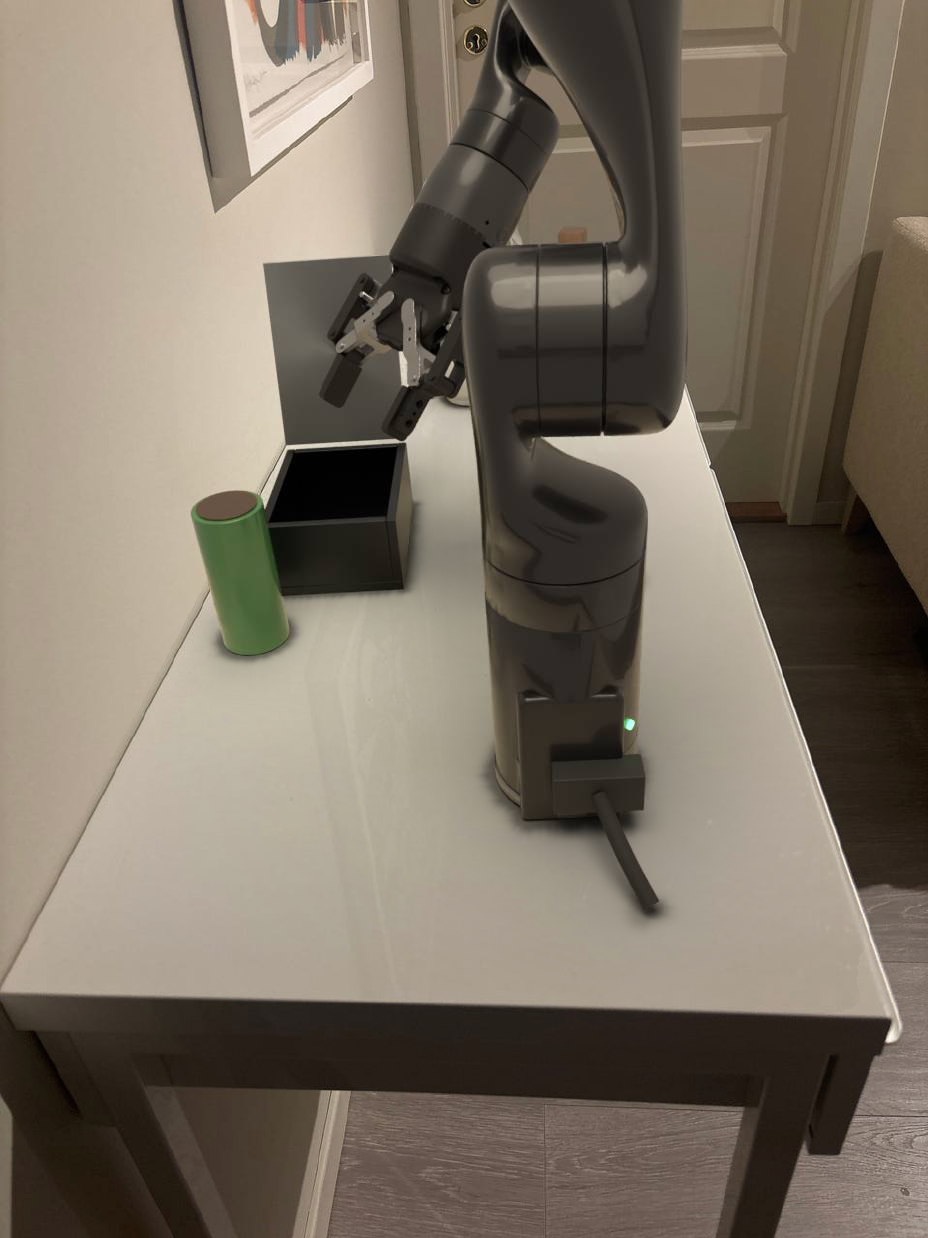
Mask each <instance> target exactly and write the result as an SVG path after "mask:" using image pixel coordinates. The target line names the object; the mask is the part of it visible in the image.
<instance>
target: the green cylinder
mask: <svg viewBox="0 0 928 1238" xmlns="http://www.w3.org/2000/svg"><path fill="white" fill-rule="evenodd" d="M190 517H191V521H192V525H193V529H194V533H195V536H196V541H197V545H198V548H199V549H198V550H199V552H200V556H201V560H202V564H203V568H204V572H205V575H206V579H207V583H208V586H209V591H210V593H211V599H212V602H213V606H214V610H215V614H216V618H217V622H218V626H219V630H220V633H221V637H222V641H223V644H224V646H225V648H226V649H227V650H228V651H230V652H231V653H234V654H237V655H240V656H257V655H261V654H262V655H263V654H265V653H268V652H270V651H273V650H275V649H277V648H278V647H280V646H282V644H284V643H285V642H286V641H287V639H288V638H289V635H290V631H291V630H290V629H291V628H290V624H289V620H288V615H287V610H286V605H285V600H284V595H282V590H281V585H280V581H279V576H278V571H277V566H276V562H275V557H274V552H273V547H272V542H271V538H270V533H269V528H268V523H267V518H266V514H265V505H264V500H263V498H262V497H261V496H260V495H259V494H258V493H255V492H253V491H250V490H242V489H241V490H239V489H237V490H226V491H221V492H217V493H213V494H211V495H208V496H206V497H204V498H202V499H200V500H199V501H197V502H196V503H195V504H194V505H193V506H192V508H191V509H190Z"/></svg>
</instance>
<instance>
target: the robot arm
mask: <svg viewBox="0 0 928 1238" xmlns="http://www.w3.org/2000/svg"><path fill="white" fill-rule="evenodd" d="M684 2H685V0H496V3H495V7H494V10H493V11H494V12H493V16H492V22H491V26H490V31H489V36H488V40H487V44H486V49H485V52H484V57H483V59H482V63H481V68H480V71H479V74H478V78H477V83H476V86H475V88H474V93H473V96H472V99H471V101H470V103H469V105H468V107H467V109H466V110H465V113H464V115H463V117H462V118H461V121H460V122H459V124H458V127H457V129H456V130H455V132H454V134H453V136H452V138H451V140H450V142H449V144H448V146H447V147H446V149H445V151H444V153H443V154H442V155H441V157H440V158H439V160H437V162H436V164H435V165H434V167H433V168H432V170H431V171H430V173H429V175H428V176H427V179H426V180H425V181H426V182H425V181H424V182H425V184H424V183H423V184H424V186H423V185H422V187H423V188H421V190H420V192H419V194H418V196H417V198H416V200H415V202H414V203H413V205H414V206H413V205H412V206H413V208H412V210H411V212H410V211H409V214H408V216H407V218H405V219H406V220H405V221H404V222H403V225H402V227H401V229H400V231H399V233H398V235H397V237H396V238H395V241H394V243H393V245H392V246H391V249H390V251H389V253H388V254H389V258H390V261H391V263H392V274H391V276H390V277H389V279H388V280H387V281H386V282H385V283H384V284H383V285H382V284H380V283H379V282H377V281H376V280H375V279H373V278H372V277H371V276H369V275H368V274H367V273H362V274H361V275H360V276H359V277H358V279H357V281H356V283H355V284H354V286H353V288H352V290H351V292H350V293H349V295H348V297H347V299H346V301H345V302H344V304H343V306H342V308H341V310H340V311H339V313H338V315H337V317H336V318H335V320H334V322H333V324H332V326H331V327H330V329H329V331H328V334H327V338H328V339H329V340H331V341H332V342H333V343H334V345H335V346H336V352H337V356H336V358H335V360H334V362H333V364H332V366H331V368H330V370H329V373H328V374H327V376H326V378H325V380H324V381H323V383H322V387H321V390H320V392H319V396H320V398H321V399H323V400H324V401H326V402H328V403H330V404H331V405H333V406H335V407H337V408H341V407H343V405H344V404H345V402H346V400H347V398H348V396H349V394H350V392H351V390H352V388H353V386H354V384H355V382H356V381H357V379H358V377H359V375H360V373H361V371H362V368H360V367H359V366H362V365H363V364H365V363H366V362H367V361H369V360H370V359H371V358H372V357H374V356H375V355H376V354H378V353H382V354H383V353H386V352H388V351H389V350H391V349H394V350H397V351H399V353H401V352H402V354H403V357H404V358H405V360H406V384H407V385H408V386H407V385H404V384H402V387H401V389H400V391H399V393H398V395H397V396H396V398H395V400H394V402H393V404H392V406H391V408H390V410H389V412H388V414H387V415H386V417H385V419H384V421H383V423H382V426H381V429H382V431H383V432H384V433H386V434H388V435H389V436H391V437H393V438H395V439H394V440H396V441H398V442H400V443H403V442H405V441H406V440H407V439H408V438H409V436H410V435H411V434H412V433H413V432H414V430H415V429H416V427H417V424H418V423H419V421H420V419H421V417H422V415H423V413H424V411H425V410H426V408H427V406H428V404H429V402H430V401H431V400H435V399H436V398H438V397H445V398H447V397H448V398H449V399H453V398H455V397H456V396H457V395H458V393H459V391H460V389H461V387H462V384H463V382H464V380H465V378H466V383H467V391H468V398H469V406H468V407H469V413H470V419H471V420H470V421H471V426H472V436H473V443H474V445H473V446H474V453H475V463H476V474H477V475H476V476H477V486H478V487H477V488H478V489H477V490H478V502H479V503H478V504H479V517H480V519H479V520H480V536H481V537H480V538H481V550H482V551H481V554H482V569H483V570H482V571H483V582H484V584H483V585H484V586H483V587H484V601H485V602H484V603H485V604H484V605H485V618H486V619H485V620H486V632H487V633H486V635H487V649H488V663H489V676H490V678H489V679H490V694H491V707H492V709H491V711H492V721H493V722H492V724H493V734H494V748H495V751H494V752H495V753H494V772H495V777H496V780H497V783H498V785H499V787H500V789H501V790H502V791H503V793H504V794H505V795H506V796H507V797H508V798H509V799H510V800H511V801H512V802H514V803H516V804H517V805H518V806H519V807H520V810H521V817H522V819H524V820H540V819H541V820H545V819H576V818H589V817H590V818H591V817H598V818H599V819H598V820H599V821H600V823H601V826H602V829H603V830H604V833H605V836H606V838H607V840H608V842H609V844H610V847H611V849H612V851H613V853H614V855H615V858H616V859H617V862H618V864H619V865H620V868H621V870H622V871H623V873H624V876H625V877H626V880H627V881H628V884H629V885H630V887H631V889H632V891H633V892H634V894H635V896H636V898H637V900H638V902H639V903H640V905H641V907H642V910H647V909H648V908H650V907H653V906H654V905H656V904H658V903H659V902H660V900H659V897H658V896H657V894H656V892H655V890H654V888H653V886H652V885H651V883H650V881H649V879H648V877H647V875H646V874H645V872H644V870H643V869H642V866H641V864H640V862H639V860H638V859H637V856H636V855H635V853H634V850H633V848H632V847H631V844H630V842H629V840H628V837H627V836H626V833H625V831H624V829H623V827H622V825H621V821H620V819H619V818H618V816H620V815H621V814H622V812H637V811H639V812H641V811H644V810H645V796H646V794H645V793H646V792H645V791H646V772H645V767H644V763H643V758H642V754H641V753H638V746H639V745H638V742H639V723H640V722H639V718H640V717H639V716H640V697H641V695H640V694H641V677H642V676H641V674H642V672H641V671H642V653H643V630H644V611H645V610H644V609H645V592H646V574H647V573H646V572H647V552H648V551H647V550H648V533H649V531H648V530H649V512H648V511H649V510H648V506H647V502H646V499H645V497H644V494H643V493H642V492H641V490H640V489H639V488H638V487H637V486H636V485H635V484H634V483H633V482H632V481H630V479H628V478H626V477H625V476H623V475H621V474H620V473H618V472H616V471H614V470H612V469H609V468H607V467H604V466H601V465H599V464H596V463H593V462H590V461H586V460H584V459H581V458H578V457H575V456H574V455H572V454H569V453H567V452H565V451H564V450H561V449H560V448H559V447H557V446H555V445H553V444H552V443H550V441H548V440H547V439H546V438H571V437H572V438H580V437H601V436H604V437H631V436H647V435H648V436H649V435H655V434H659V433H661V432H663V431H665V430H666V429H668V428H669V426H671V425H672V423H673V421H674V420H675V419H676V417H677V415H678V412H679V410H680V407H681V404H682V400H683V396H684V391H685V385H686V379H687V378H686V376H687V368H688V353H689V352H688V351H689V350H688V349H689V320H688V319H689V317H688V316H689V314H688V312H689V311H688V281H687V280H688V277H687V275H688V274H687V273H688V272H687V247H686V223H685V221H686V219H685V218H686V217H685V198H684V197H685V195H684V194H685V192H684V191H685V190H684V174H683V173H684V170H683V169H684V168H683V167H684V166H683V165H684V164H683V163H684V162H683V137H682V54H683V53H682V52H683V31H684V30H683V27H684V7H685V6H684V5H685V3H684ZM533 70H535V71H537V72H540V73H542V74H545V75H547V76H550V77H553V78H555V79H556V81H557V82H558V83H559V85H560V87H561V88H562V90H563V91H564V93H565V95H566V96H567V98H568V100H569V102H570V103H571V105H572V107H573V108H574V110H575V112H576V113H577V115H578V117H579V119H580V121H581V124H582V126H583V127H584V129H585V131H586V134H587V136H588V138H589V139H590V142H591V144H592V146H593V149H594V151H595V152H596V154H597V157H598V159H599V162H600V165H601V167H602V169H603V172H604V174H605V178H606V181H607V183H608V187H609V190H610V194H611V198H612V202H613V206H614V209H615V212H616V218H617V223H618V230H619V235H620V236H619V238H617V239H614V240H605V242H603V241H602V240H599V241H587V242H573V243H558V242H555V243H554V242H553V243H552V242H551V243H541V244H540V243H533V244H532V243H529V244H523V245H517V244H514V245H510V244H509V243H508V242H509V240H510V238H511V237H512V235H513V233H514V231H515V229H517V226H518V224H519V222H520V219H521V217H522V214H523V211H524V209H525V206H526V204H527V201H528V199H529V197H530V195H531V194H532V192H533V190H534V188H535V186H536V184H537V182H538V181H539V179H540V177H541V175H542V173H543V171H544V169H545V167H546V166H547V163H548V161H549V159H550V157H551V156H552V154H553V152H554V150H555V148H556V145H557V143H558V141H559V137H560V132H561V124H560V120H559V117H558V115H557V114H556V112H555V110H554V109H553V108H552V107H551V106H550V104H549V103H548V102H547V101H546V100H545V99H543V98H542V96H540V95H539V94H538V93H537V92H535V91H534V90H533V89H531V88H530V87H528V86H527V85H526V82H527V80H528V77H529V75H530V74H531V72H532V71H533ZM508 244H509V245H508ZM362 305H363V306H362ZM352 318H353V319H355V322H354V328H353V329H352V331H351V332H349V333H348V334H347V333H346V332H344V330H345V329H346V327H347V325H348V323H349V321H350V320H351V319H352ZM375 325H376V331H375V330H374V329H372V327H374V326H375ZM361 342H365V343H366V344H365V345H364V346H363V347H361V348H360V346H359V344H360V343H361ZM452 361H453V362H454V367H453V369H452V371H451V373H450V375H449V377H446V376H445V374H446V372H447V370H448V368H449V366H450V364H451V362H452Z"/></svg>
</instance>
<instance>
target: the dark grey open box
mask: <svg viewBox="0 0 928 1238" xmlns="http://www.w3.org/2000/svg"><path fill="white" fill-rule="evenodd" d="M409 462H410V461H409V453H408V445H407V442H405V441H403V442H391V443H390V442H389V443H375V444H373V443H371V444H360V445H359V444H357V445H356V444H355V445H341V446H340V445H339V446H325V447H324V446H323V447H322V446H321V447H309V448H308V447H307V448H296V449H295V448H292V449H287V450H286V453H285V455H284V458H283V461H282V462H281V466H280V468H279V470H278V474H277V476H276V479H275V482H274V484H273V487H272V488H271V492H270V494H269V497H268V500H267V502H266V505H265V506H264V509H265V514H266V518H267V523H268V528H269V533H270V538H271V542H272V547H273V552H274V557H275V562H276V566H277V571H278V576H279V581H280V585H281V590H282V595H283V596H292V595H293V596H294V595H307V594H308V595H310V594H312V595H313V594H328V593H329V594H331V593H348V592H349V593H351V592H365V591H366V592H369V591H387V590H388V591H389V590H403V589H405V582H406V573H407V563H408V554H409V547H410V546H409V545H410V537H411V535H410V534H411V528H412V518H413V511H414V510H413V509H414V500H413V491H412V490H413V489H412V483H411V482H412V481H411V473H410V463H409Z"/></svg>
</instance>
